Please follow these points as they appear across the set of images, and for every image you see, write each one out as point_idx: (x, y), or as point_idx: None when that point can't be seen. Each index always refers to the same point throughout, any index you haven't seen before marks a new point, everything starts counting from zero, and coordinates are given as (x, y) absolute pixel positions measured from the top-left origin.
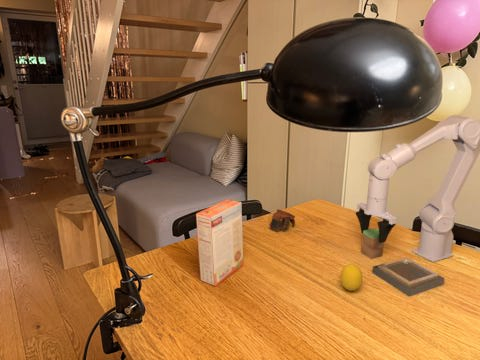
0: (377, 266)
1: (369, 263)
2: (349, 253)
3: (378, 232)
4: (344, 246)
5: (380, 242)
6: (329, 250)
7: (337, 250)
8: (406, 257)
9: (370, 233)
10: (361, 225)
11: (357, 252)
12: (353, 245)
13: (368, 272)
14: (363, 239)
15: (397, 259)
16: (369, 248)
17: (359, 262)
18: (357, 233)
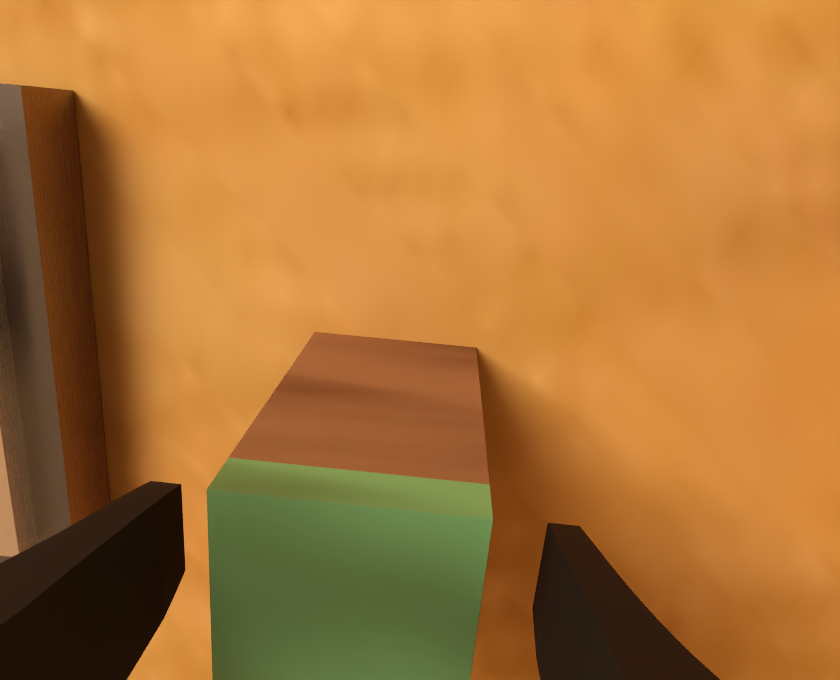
0: (3, 143)
1: (251, 236)
2: (547, 220)
3: (285, 658)
4: (712, 306)
5: (146, 484)
6: (769, 40)
7: (697, 143)
8: (7, 554)
9: (321, 525)
10: (605, 611)
11: (510, 322)
12: (659, 415)
13: (94, 57)
14: (462, 429)
15: (3, 444)
16: (338, 380)
17: (320, 151)
18: (826, 662)
